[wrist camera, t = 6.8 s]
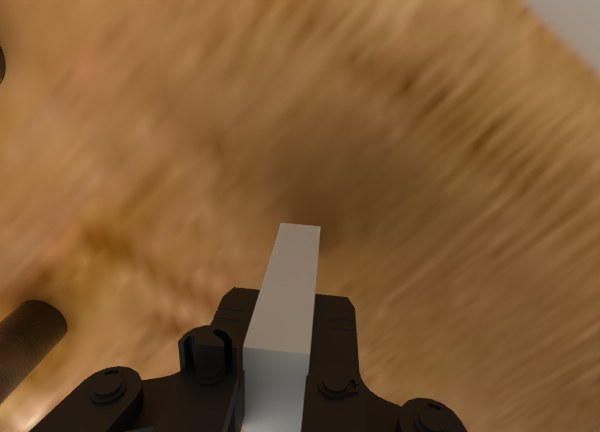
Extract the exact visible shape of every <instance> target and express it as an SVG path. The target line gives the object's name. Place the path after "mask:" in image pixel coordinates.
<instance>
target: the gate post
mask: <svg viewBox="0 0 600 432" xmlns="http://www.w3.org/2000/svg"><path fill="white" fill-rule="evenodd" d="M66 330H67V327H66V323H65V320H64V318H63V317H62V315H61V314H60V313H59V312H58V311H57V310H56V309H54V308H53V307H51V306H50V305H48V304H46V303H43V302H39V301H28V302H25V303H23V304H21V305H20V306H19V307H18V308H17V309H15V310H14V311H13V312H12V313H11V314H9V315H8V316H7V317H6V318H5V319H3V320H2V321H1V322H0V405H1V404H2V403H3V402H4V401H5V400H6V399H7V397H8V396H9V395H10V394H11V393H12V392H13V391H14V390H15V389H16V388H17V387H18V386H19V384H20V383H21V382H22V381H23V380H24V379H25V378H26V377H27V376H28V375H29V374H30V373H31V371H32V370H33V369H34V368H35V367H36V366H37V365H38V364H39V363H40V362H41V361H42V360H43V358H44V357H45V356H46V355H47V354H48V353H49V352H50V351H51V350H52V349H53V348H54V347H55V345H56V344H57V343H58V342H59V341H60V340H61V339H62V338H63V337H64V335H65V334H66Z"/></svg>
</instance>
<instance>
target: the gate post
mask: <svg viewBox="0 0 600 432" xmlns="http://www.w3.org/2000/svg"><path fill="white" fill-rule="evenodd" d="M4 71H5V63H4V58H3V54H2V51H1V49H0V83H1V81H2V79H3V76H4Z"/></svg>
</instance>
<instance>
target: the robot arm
mask: <svg viewBox="0 0 600 432" xmlns="http://www.w3.org/2000/svg"><path fill="white" fill-rule="evenodd" d="M320 230H321V226H312V225H300V224H289V223H281V224H280V227H279V230H278V234H277V237H276V240H275V243H274V247H273V250H272V253H271V256H270V260H269V263H268V266H267V270H266V273H265V276H264V279H263V283H262V286H261V289H260V290H256V289H245V288H235V287H234V288H233V289H231V290H230V291H229V292H228V293H227V294H225V295H224V296H223V298H222V300H221V302H220V304H219V307H218V310H217V311H216V314H215V316H214V320H212V323H211V325H205V326H201V327H198V328H194V329H192V330H191V331H189V332H187V333H186V334H184V335H183V337H182V338H181V339H180V340H179V341H178V347H179V358H180V369H181V370H180V372H177V373H175V374H173V375H170V376H165V377H161V378H154V379H148V380H141V378H140V376H139V374H138V372H136V371H135V370H133V369H131V368H128V367H121V366H117V367H110V368H106V369H103V370H101V371H98V372H96V373H94V374H92V375H91V376H90V377H88V378H87V379H85V380H84V381H83V382H82V383H81V384H80V385H79V386H78V387H76V388H75V389H74V390H73V391H72V392H71V393H70V394H69V395H68V396H67V397H66V398H65V399H64V400H62V401H61V402H60V403H59V404H58V405H57V406H56V407H55V408H54V409H53V410H52V411H51V412H50V413H48V414H47V415H46V416H45V417H44V418H43V419H42V420H41V421H40V422H39V423H38V424H37V425H36V426H34V427H33V428H32V429H31V430H30V431H29V432H240V431H241V427H242V423H243V432H467V430H466V428H465V427H464V425H463V423H462V422H461V420H460V419H459V418H458V417H457V415H456V414H455V413H454V412H453V411H452V410H451V409H449V408H448V407H446V406H445V405H444V404H442V403H440V402H437V401H435V400H432V399H428V398H415V399H412V400H408V401H407V402H406V403H405V404H404V405H403V406H402V407H401V406H399V405H396V404H394V403H391V402H389V401H386V400H384V399H382V398H380V397H378V396H377V395H375V394H374V393H373V392H371V391H370V390H369V389H368V388H367V387H366V385H365V384H364V383H363V381H362V379H361V376H360V372H359V361H358V346H357V333H356V317H355V308H354V306H353V305H352V303H351V302H350V300H349V299H348V297H340V296H330V295H319V294H315V289H316V277H317V265H318V253H319V242H320Z"/></svg>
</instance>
